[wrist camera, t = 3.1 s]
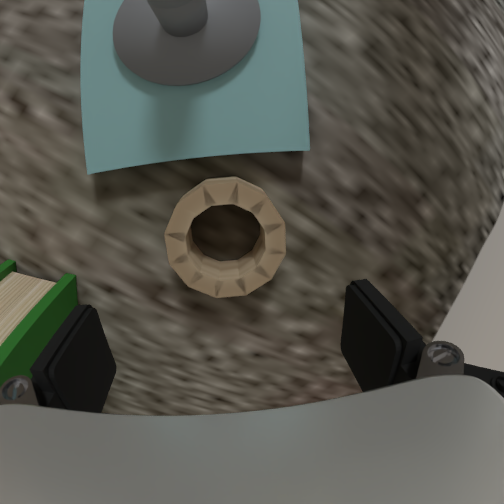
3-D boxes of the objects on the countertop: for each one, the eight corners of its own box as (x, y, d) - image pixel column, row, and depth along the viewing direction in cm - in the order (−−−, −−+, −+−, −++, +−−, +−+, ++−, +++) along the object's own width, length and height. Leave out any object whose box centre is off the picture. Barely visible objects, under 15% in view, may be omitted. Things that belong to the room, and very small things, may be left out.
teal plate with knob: (282, -63, 12) (305, -123, 5) (303, 149, 19) (351, 157, 12) (98, -40, 12) (59, -88, 4) (96, 171, 18) (32, 193, 11)
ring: (274, 173, 19) (283, 179, 17) (278, 271, 22) (286, 291, 19) (167, 182, 19) (158, 190, 16) (181, 280, 22) (176, 300, 19)
